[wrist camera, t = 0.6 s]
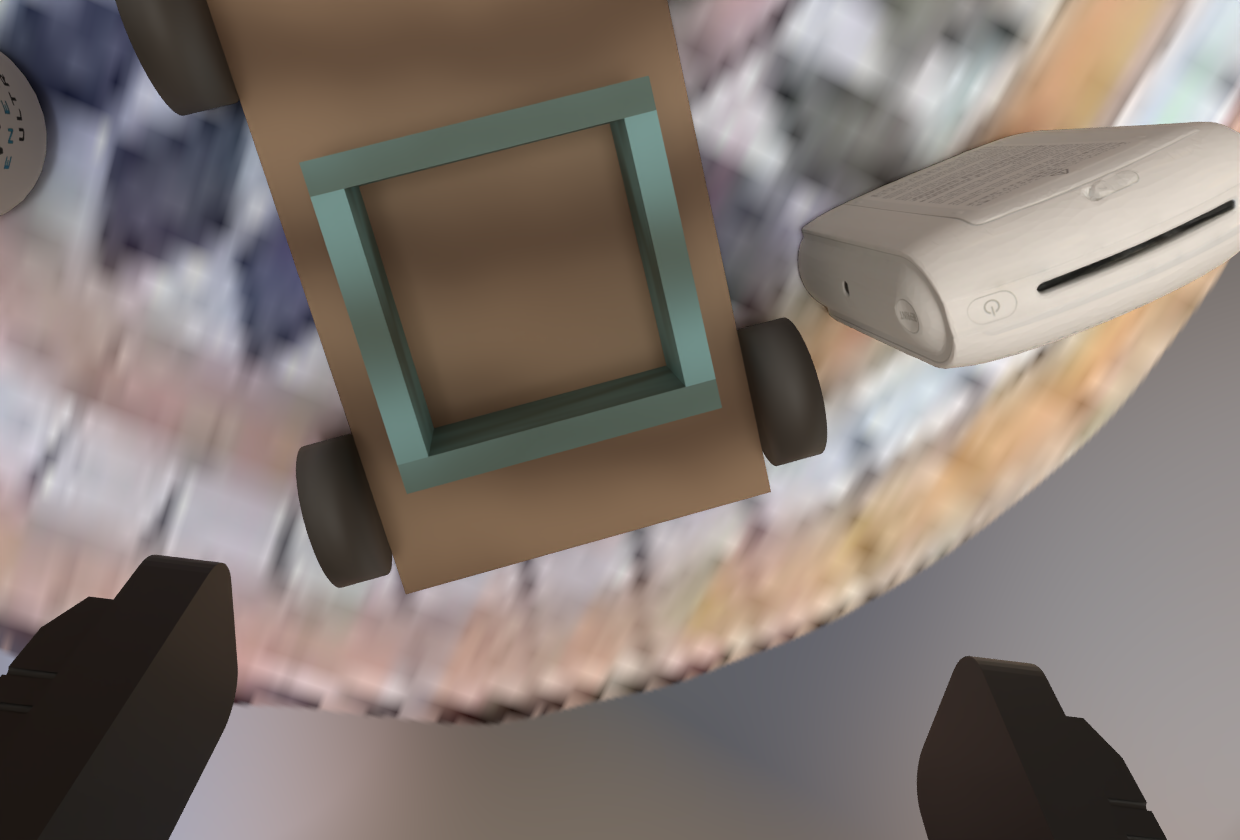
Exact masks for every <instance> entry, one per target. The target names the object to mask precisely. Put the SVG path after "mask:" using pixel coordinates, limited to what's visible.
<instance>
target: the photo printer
mask: <svg viewBox="0 0 1240 840" xmlns="http://www.w3.org/2000/svg"><path fill="white" fill-rule="evenodd" d="M802 232H803V236H804V238H803V239H802V242H801V244H800V249H799V254H798V266H799V272H800V276H801V279H802V281H803V284H804V286H805V288H806V289H807V291H808V292H809V293H810V295H811V296H812V297H813V298H815V299H816V300H817V301H818V302H819V303H821V304H823V305H825V306H826V307H827V308H828V312H829V315H830V316H832V317H833V318H834V319H835V320H837V321H839V322H841V323H843V324H845V325H847V326H849V327H851V328H854V329H856V330H857V331H859V332H862V333H864V334H866V335H868V336H870V337H873V338H875V339H876V340H879V341H881V342H883V343H885V344H887V345H889V346H892V347H894V348H896V349H898V350H900V351H902V352H904V353H906V354H909V355H911V356H913V357H916V358H918V359H920V360H922V361H924V362H926V363H928V364H931V365H933V366H935V367H938V368H944V369H947V368H956V367H964V366H972V365H977V364H982V363H987V362H991V361H994V360H998V359H1002V358H1005V357H1009V356H1013V355H1016V354H1019V353H1022V352H1025V351H1028V350H1031V349H1035V348H1038V347H1041V346H1044V345H1046V344H1049V343H1052V342H1055V341H1058V340H1061V339H1064V338H1066V337H1069V336H1072V335H1074V334H1077V333H1079V332H1082V331H1084V330H1087V329H1090V328H1092V327H1095V326H1097V325H1099V324H1102V323H1104V322H1107V321H1109V320H1112V319H1114V318H1116V317H1119V316H1121V315H1123V314H1126V313H1128V312H1130V311H1132V310H1134V309H1137V308H1139V307H1141V306H1144V305H1146V304H1148V303H1150V302H1152V301H1154V300H1156V299H1159V298H1161V297H1163V296H1165V295H1167V294H1169V293H1171V292H1173V291H1175V290H1177V289H1179V288H1181V287H1183V286H1185V285H1187V284H1189V283H1190V282H1192V281H1194V280H1196V279H1198V278H1200V277H1201V276H1203V275H1205V274H1206V273H1208V272H1210V271H1211V270H1213V269H1215V268H1216V267H1218V266H1220V265H1221V264H1223V263H1224V262H1226V261H1227V260H1229V259H1230V258H1231V257H1233V256H1234V255H1235V254H1237V253H1238V252H1239V251H1240V133H1238V132H1237V131H1235V130H1233V129H1231V128H1229V127H1227V126H1225V125H1222V124H1218V123H1213V122H1190V123H1174V124H1157V125H1139V126H1120V127H1102V128H1082V129H1062V130H1041V131H1033V132H1027V133H1022V134H1017V135H1013V136H1009V137H1006V138H1002V139H999V140H997V141H994V142H991V143H988V144H986V145H983V146H980V147H978V148H975V149H972V150H969V151H966V152H964V153H962V154H960V155H957V156H955V157H952V158H950V159H947V160H945V161H942V162H940V163H937V164H935V165H932V166H930V167H927V168H925V169H923V170H920V171H918V172H915V173H913V174H911V175H908V176H906V177H904V178H901V179H899V180H896V181H894V182H892V183H889V184H887V185H884V186H882V187H880V188H878V189H876V190H873V191H871V192H869V193H866V194H864V195H862V196H860V197H857V198H855V199H853V200H851V201H849V202H847V203H844V204H842V205H840V206H838V207H836V208H834V209H832V210H830V211H828V212H826V213H824V214H823V215H821V216H819V217H818V218H816V219H815V220H813V221H812V222H810V223H809V224H807V225H806V226H804V227H803V228H802Z"/></svg>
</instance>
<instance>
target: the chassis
mask: <svg viewBox="0 0 1240 840" xmlns="http://www.w3.org/2000/svg"><path fill="white" fill-rule="evenodd" d="M115 1H116V4H117V7H118V10H119V13H120V16H121V19H122V21H123V24H124V27H125V29H126V32H127V34H128V37H129V39H130V41H131V44H132V46H133V48H134V50H135V52H136V55H137V57H138V59H139V61H140V63H141V65H142V67H143V68H144V70H145V72H146V74H147V76H148V78H149V79H150V81H151V83H152V84H153V86H154V87H155V89H156V90H157V92H158V93H159V95H160V96H161V98H162V99H163V100H164V102H165V103H166V104H167V105H168V106H169V107H170V108H171V109H172V110H173V111H174V112H175V113H177V114H179V115H181V116H184V115H188V114H193V113H197V112H201V111H205V110H209V109H213V108H217V107H221V106H225V105H229V104H234V103H237V102H238V100H239V99H240V102H241V105H242V108H243V111H244V114H245V117H246V120H247V123H248V126H249V129H250V132H251V135H252V138H253V141H254V144H255V147H256V150H257V153H258V156H259V158H260V161H261V164H262V167H263V170H264V173H265V176H266V179H267V182H268V185H269V188H270V191H271V194H272V197H273V200H274V203H275V206H276V209H277V212H278V215H279V218H280V221H281V224H282V227H283V230H284V233H285V236H286V239H287V242H288V245H289V248H290V251H291V254H292V257H293V260H294V263H295V266H296V269H297V272H298V275H299V278H300V280H301V283H302V286H303V289H304V292H305V295H306V298H307V301H308V304H309V307H310V310H311V313H312V316H313V319H314V322H315V325H316V328H317V331H318V334H319V337H320V340H321V343H322V346H323V349H324V352H325V355H326V358H327V361H328V364H329V367H330V370H331V373H332V376H333V379H334V382H335V385H336V388H337V391H338V394H339V397H340V400H341V402H342V405H343V408H344V411H345V414H346V417H347V420H348V423H349V426H350V429H351V432H352V434H348V435H344V436H340V437H337V438H333V439H329V440H326V441H322V442H318V443H314V444H311V445H307V446H303V447H301V448H300V450H299V452H298V455H297V461H296V479H297V489H298V496H299V501H300V506H301V511H302V515H303V519H304V523H305V527H306V530H307V533H308V536H309V539H310V542H311V545H312V548H313V550H314V553H315V555H316V557H317V560H318V562H319V564H320V566H321V568H322V570H323V571H324V573H325V575H326V576H327V578H328V579H329V580H330V582H331V583H332V584H333V585H335V586H336V587H338V588H342V587H345V586H349V585H352V584H356V583H359V582H363V581H367V580H370V579H374V578H377V577H381V576H385V575H388V574H389V573H390V570H391V566H392V554H393V557H394V560H395V563H396V566H397V569H398V572H399V575H400V578H401V581H402V584H403V587H404V590H405V593H406V594H409V593H412V592H416V591H419V590H423V589H427V588H430V587H434V586H437V585H441V584H444V583H448V582H451V581H455V580H459V579H462V578H466V577H469V576H473V575H476V574H480V573H484V572H487V571H491V570H494V569H498V568H501V567H505V566H508V565H512V564H516V563H519V562H523V561H526V560H530V559H533V558H537V557H540V556H544V555H548V554H551V553H555V552H558V551H562V550H565V549H569V548H573V547H576V546H580V545H583V544H587V543H590V542H594V541H597V540H601V539H605V538H608V537H612V536H615V535H619V534H622V533H626V532H630V531H633V530H637V529H640V528H644V527H647V526H651V525H654V524H658V523H662V522H665V521H669V520H672V519H676V518H679V517H683V516H686V515H690V514H694V513H697V512H701V511H704V510H708V509H711V508H715V507H719V506H722V505H726V504H729V503H733V502H736V501H740V500H743V499H747V498H751V497H754V496H758V495H761V494H765V493H768V492H771V490H770V485H769V481H768V476H767V471H766V466H765V462H764V457H763V452H764V454H765V456H766V457H767V459H768V460H769V461H770V463H771V464H773V465H774V466H779V465H782V464H786V463H789V462H793V461H797V460H800V459H804V458H807V457H811V456H815V455H818V454H821V453H823V451H824V450H825V447H826V442H827V422H826V413H825V407H824V401H823V396H822V392H821V388H820V384H819V380H818V377H817V373H816V370H815V367H814V364H813V361H812V359H811V356H810V354H809V351H808V349H807V346H806V344H805V342H804V340H803V338H802V336H801V335H800V333H799V331H798V330H797V328H796V327H795V325H794V324H793V323H792V322H791V321H790V320H789V319H787V318H780V319H776V320H772V321H769V322H765V323H761V324H757V325H754V326H750V327H746V328H742V329H739V330H738V331H737V329H736V324H735V319H734V315H733V310H732V305H731V300H730V296H729V291H728V286H727V281H726V277H725V272H724V267H723V262H722V258H721V253H720V248H719V244H718V239H717V234H716V229H715V225H714V220H713V215H712V210H711V206H710V201H709V196H708V191H707V187H706V182H705V177H704V172H703V168H702V163H701V158H700V153H699V149H698V144H697V139H696V134H695V130H694V125H693V120H692V115H691V111H690V106H689V101H688V96H687V92H686V87H685V82H684V77H683V73H682V68H681V63H680V59H679V54H678V49H677V44H676V40H675V35H674V30H673V25H672V21H671V16H670V11H669V6H668V2H667V0H115ZM762 451H763V452H762Z"/></svg>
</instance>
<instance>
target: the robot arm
mask: <svg viewBox="0 0 1240 840" xmlns="http://www.w3.org/2000/svg"><path fill="white" fill-rule="evenodd" d="M237 676H238V666H237V652H236V639H235V625H234V612H233V599H232V585H231V576H230V572H229V569H228V567H227V566H226V564H224V563H219V562H211V561H203V560H194V559H186V558H178V557H170V556H162V555H151V556H149V557H147V558H146V559H145V560H144V561H143V562H142V563H141V564H140V565H139V567H138V568H137V569H136V571H135V572H134V573H133V575H132V576H131V577H130V579H129V580H128V581H127V583H126V584H125V585H124V587H123V588H122V589H121V591H120V592H119V593H118V594H117V596H116V597H115V598H114V600H113V599H104V598H96V597H88V598H86V599H84V600H83V601H81V602H80V603H78V604H77V605H75V606H74V607H72V608H71V609H69V610H67V611H66V612H64V613H63V614H61V615H60V616H58V617H57V618H55V619H54V620H52V621H50V622H49V623H47V624H46V625H44V626H43V627H41V628H40V629H39V631H38V632H37V633H36V634H35V635H34V637H33V638H32V639H31V640H30V642H29V643H28V644H27V645H26V646H25V648H24V649H23V650H22V651H21V652H20V654H19V655H18V656H17V657H16V658H15V660H14V661H13V662H12V663H11V664H10V666H9V670H8V673H7V675H1V677H0V840H168V839H169V837H170V835H171V833H172V832H173V830H174V827H175V826H176V824H177V822H178V820H179V818H180V816H181V814H182V812H183V810H184V808H185V806H186V804H187V802H188V800H189V798H190V796H191V794H192V792H193V790H194V788H195V786H196V784H197V782H198V780H199V778H200V776H201V774H202V772H203V770H204V768H205V766H206V764H207V762H208V760H209V759H210V757H211V755H212V753H213V751H214V748H215V747H216V745H217V743H218V741H219V739H220V737H221V735H222V733H223V731H224V729H225V726H226V724H227V722H228V719H229V716H230V713H231V710H232V706H233V702H234V698H235V693H236V687H237ZM917 795H918V803H919V808H920V813H921V816H922V819H923V823H924V826H925V830H926V833H927V836H928V839H929V840H1167V839H1166V837H1165V835H1164V833H1163V831H1162V829H1161V828H1160V826H1159V824H1158V822H1157V820H1156V819H1155V817H1154V815H1153V813H1152V811H1147V809H1146V800H1145V798H1144V797H1143V795H1142V793H1141V791H1140V789H1139V787H1138V786H1137V784H1136V782H1135V780H1134V778H1133V776H1132V775H1131V773H1130V771H1129V769H1128V767H1127V766H1126V764H1125V762H1124V760H1123V758H1122V757H1121V756H1120V755H1119V754H1118V753H1117V752H1116V751H1115V750H1114V749H1113V748H1112V747H1111V746H1110V745H1109V744H1108V743H1107V742H1106V741H1105V740H1104V739H1103V738H1102V737H1101V736H1100V735H1099V734H1098V733H1097V732H1096V731H1095V730H1094V729H1093V728H1092V727H1091V726H1090V725H1089V724H1088V723H1087V722H1086V721H1085V720H1084V719H1083V718H1077V717H1069V716H1066V715H1065V714H1064V712H1063V710H1062V708H1061V706H1060V704H1059V702H1058V700H1057V698H1056V696H1055V694H1054V692H1053V690H1052V688H1051V686H1050V684H1049V682H1048V680H1047V678H1046V676H1045V675H1044V673H1043V671H1042V670H1041V669H1040V668H1039V667H1037V666H1036V665H1034V664H1029V663H1021V662H1013V661H1004V660H997V659H989V658H980V657H972V656H965V657H963V658H962V659H961V660H960V661H959V662H958V663H957V665H956V667H955V669H954V671H953V673H952V676H951V678H950V681H949V684H948V686H947V688H946V691H945V693H944V696H943V698H942V701H941V704H940V706H939V708H938V711H937V714H936V716H935V718H934V721H933V724H932V726H931V728H930V731H929V733H928V736H927V738H926V741H925V743H924V746H923V749H922V752H921V755H920V759H919V764H918V772H917Z"/></svg>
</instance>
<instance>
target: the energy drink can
mask: <svg viewBox="0 0 1240 840" xmlns="http://www.w3.org/2000/svg"><path fill="white" fill-rule="evenodd" d="M46 145H47V132H46V126H45V121H44V115H43V112H42V109H41V107H40V104H39V101H38V99H37V96H36V94H35V92H34V91H33V89H32V87H31V86H30V84H29V82H28V81H27V79H26V77H25V76H24V75H23V74H22V72H21V71H20V70H19V69H18V68H17V67H16V65H15V64H14V63H13V62H12V61H11V60H10V59H9V58H8V57H7V56H5V55H4V54H3V53H2V52H1V51H0V216H1V215H3V214H5V213H7V212H9V211H10V210H11V209H13V208H14V207H15V206H17V205H18V204H19V203H20V202H22V201H23V200H24V198H25V197H26V196H27V195H28V194H29V192H30V191H31V190H32V189H33V188H34V186H35V184H36V182H37V180H38V178H39V176H40V174H41V172H42V168H43V164H44V160H45V156H46Z"/></svg>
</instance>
